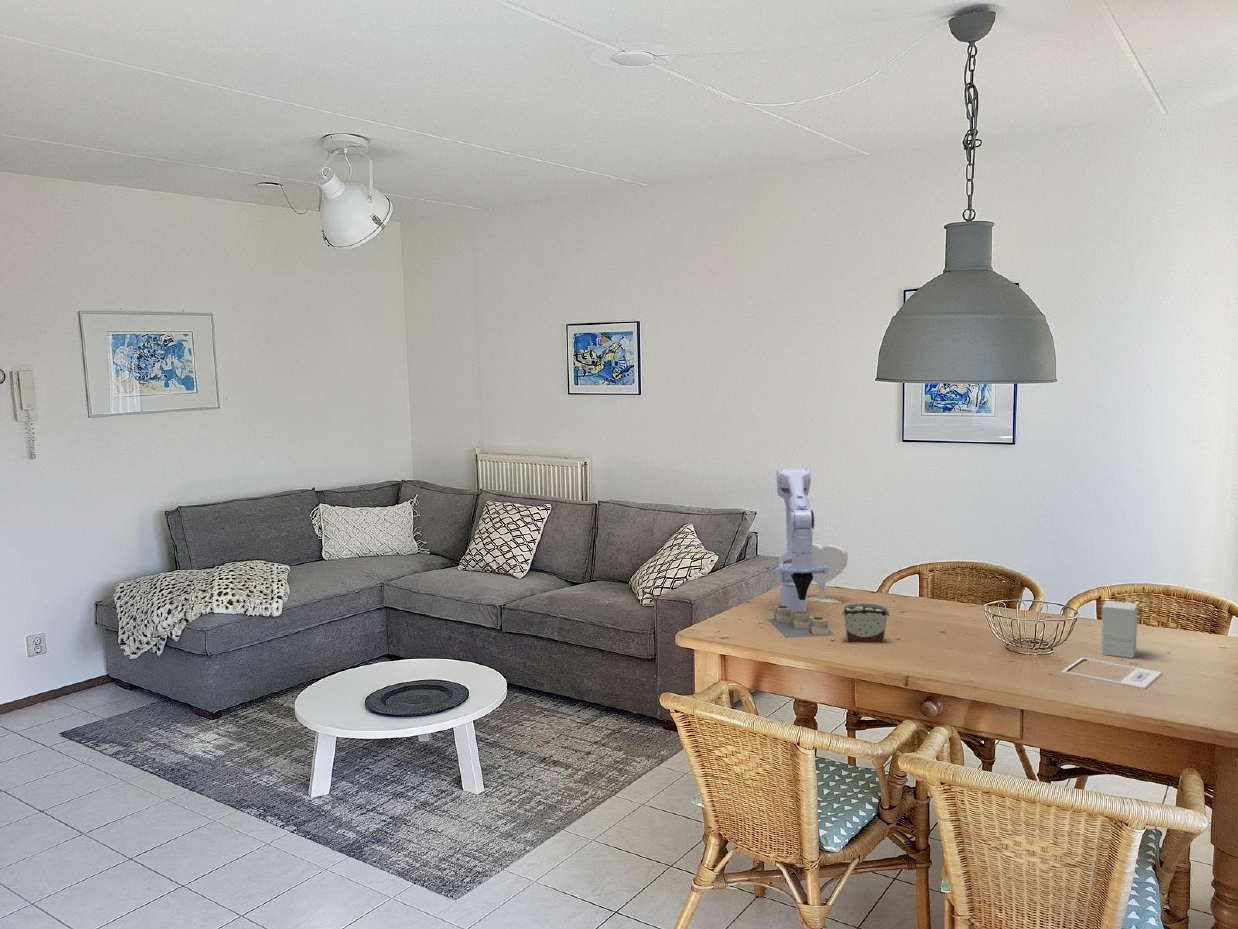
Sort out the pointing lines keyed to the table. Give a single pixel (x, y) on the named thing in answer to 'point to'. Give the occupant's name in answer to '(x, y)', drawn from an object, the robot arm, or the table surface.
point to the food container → (865, 622)
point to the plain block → (799, 619)
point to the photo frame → (1134, 679)
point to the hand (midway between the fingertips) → (801, 599)
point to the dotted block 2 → (818, 625)
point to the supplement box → (1119, 629)
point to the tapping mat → (794, 630)
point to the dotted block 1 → (782, 614)
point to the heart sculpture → (833, 560)
